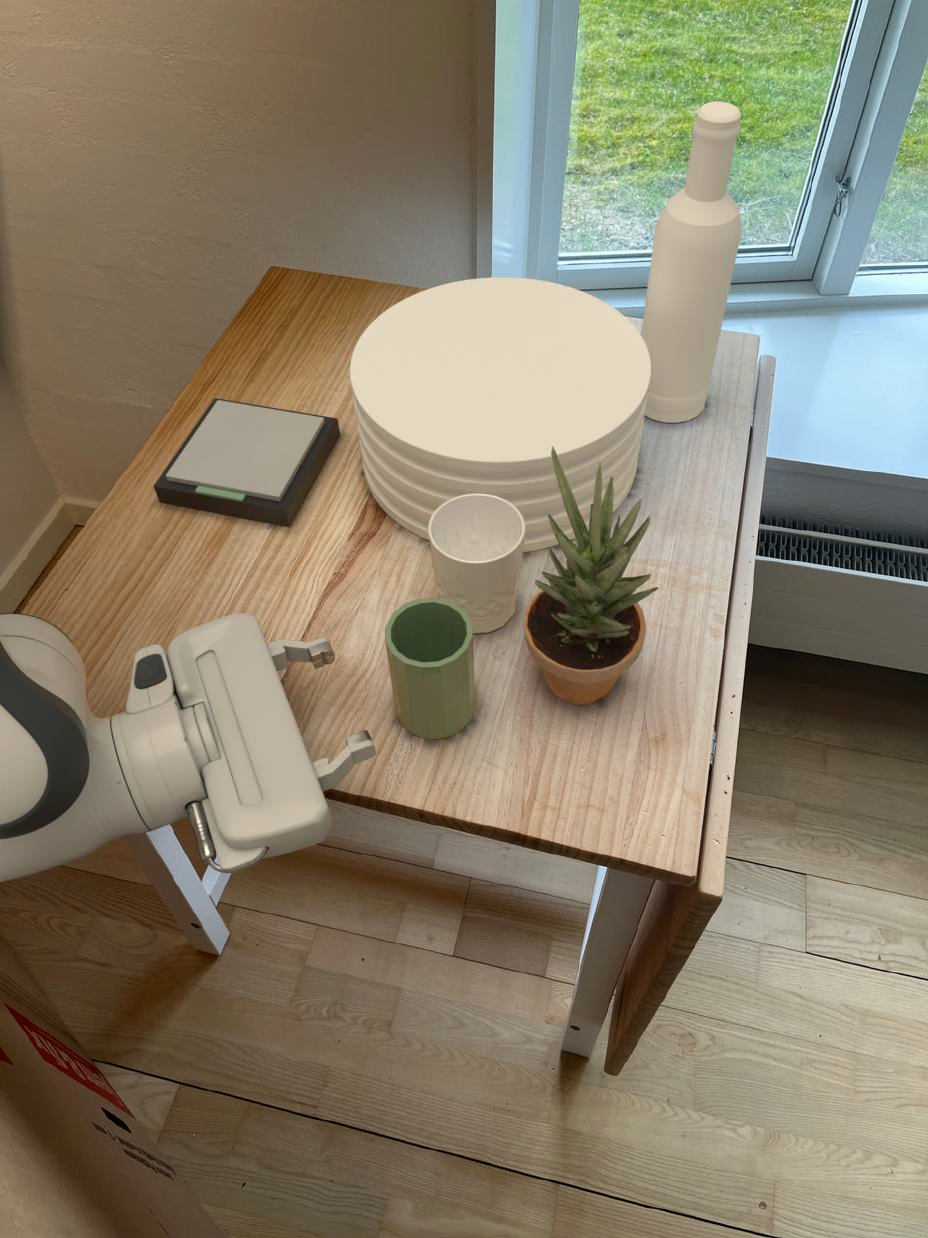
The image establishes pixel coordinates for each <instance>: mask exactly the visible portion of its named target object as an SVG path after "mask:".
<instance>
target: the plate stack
mask: <svg viewBox="0 0 928 1238" xmlns="http://www.w3.org/2000/svg"><path fill="white" fill-rule="evenodd" d="M650 378H651V360H650V355H649V351H648V349H647V346H646V344H645V342H644V340H643V338H642V336H641V332H640V331H639V330H638V329H637V327H636V326H635V325H634V324H633V323H632V322H631V321H630V320H629V319H628V318H627V317H626V316H625V315H624V314H622V313H621V312H620V311H619V310H617V309H616V308H614V307H613V306H612V305H611V304H609V303H606V302H605V301H604V300H601V299H600V298H598V297H596V296H594V295H591V294H590V293H587V292H585V291H582V290H580V289H577V288H574V287H571V286H567V285H564V284H560V283H557V282H551V281H547V280H541V279H536V278H535V279H534V278H527V277H526V278H525V277H524V278H523V277H509V276H508V277H506V276H500V277H499V276H496V277H480V278H471V279H464V280H458V281H454V282H453V281H452V282H448V283H445V284H444V283H443V284H440V285H437V286H434V287H430V288H428V289H425V290H422V291H420V292H416V293H415V294H412V295H410V296H408V297H406V298H404V299H402V300H401V301H399V302H397V303H395V304H394V305H391V307H389V308H387V309H386V310H385V311H384V312H382V313H381V314H380V315H379V316H377V317H376V318H375V319H374V320H373V321H372V322H371V323H370V324H369V325H368V326H367V327H366V329H365V330H364V331H363V332H362V334H361V336H360V337H359V338H358V340H357V342H356V344H355V346H354V349H353V352H352V355H351V359H350V363H349V379H350V385H351V391H352V398H353V405H354V413H355V417H356V426H357V433H358V439H359V447H360V453H361V454H360V455H361V460H362V467H363V468H362V469H363V473H364V478H365V481H366V482H365V483H366V485H367V487H368V489H369V492H370V493H371V495H372V497H373V498H374V500H375V501H376V503H377V504H378V506H379V507H380V508H381V509H382V510H383V511H384V513H386V514H387V515H388V516H389V517H390V518H391V519H392V520H393V521H395V522H396V523H397V524H398V525H400V526H401V527H403V528H404V529H405V530H407V531H409V532H411V533H413V534H414V535H416V536H418V537H420V538H422V539H424V540H427V541H429V542H430V540H429V533H428V525H429V521H430V518H431V516H432V515H433V513H434V512H435V511H436V509H437V508H438V507H440V506H441V505H442V504H443V503H445V502H446V501H448V500H450V499H452V498H455V497H458V496H461V495H466V494H475V493H480V494H489V495H494V496H497V497H500V498H502V499H505V500H506V501H508V502H510V503H511V504H512V505H514V506H515V507H516V508H517V509H518V510H519V512H520V513H521V515H522V517H523V519H524V523H525V535H524V545H523V553H528V552H534V551H540V550H543V549H548V548H547V547H549V546H550V548H552V547H555V546H560V545H559V543H558V541H557V539H556V537H555V535H554V533H553V530H552V527H551V524H550V521H549V518H548V514H550V515H551V517H552V518H553V519H554V521H555V522H556V524H557V525H558V526H559V528H560V529H561V530H562V532H563V533H564V534H565V535H566V536H567V538H568V539H569V540H570V541H572V540H574V539H576V537H575V535H574V532H573V529H572V526H571V523H570V520H569V517H568V515H567V512H566V509H565V507H564V503H563V499H562V496H561V492H560V489H559V485H558V482H557V478H556V474H555V469H554V464H553V460H552V455H551V451H552V446H553V447H554V450H555V451H556V454H557V456H558V459H559V462H560V464H561V467H562V469H563V472H564V474H565V476H566V479H567V481H568V484H569V486H570V489H571V491H572V494H573V496H574V499H575V501H576V504H577V506H578V509H579V512H580V514H581V516H582V518H583V520H584V522H585V524H586V527H587V530H589V518H590V509H591V504H593V499H594V491H595V481H596V475H597V471H598V467H599V463H600V462H601V470H602V493H601V495H602V499H601V506H602V502H603V499H604V496H605V492H606V489H607V486H608V483H609V480H610V477H611V476H613V489H614V498H613V513H615V512H616V511H617V510H618V508H619V507H620V506H621V505H622V504H623V502H624V501H625V499H626V498H627V496H628V494H629V493H630V491H631V489H632V486H633V484H634V481H635V478H636V473H637V468H638V462H639V461H638V460H639V454H640V449H641V441H642V435H643V430H644V429H643V428H644V422H645V411H646V404H647V397H648V390H649V385H650Z"/></svg>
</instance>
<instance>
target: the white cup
mask: <svg viewBox="0 0 928 1238" xmlns="http://www.w3.org/2000/svg"><path fill="white" fill-rule="evenodd" d="M428 533H429V540H430V541H429V540H428V541H429V546H430V554H431V560H432V568H433V574H434V579H435V585H436V590H437V594H438V598H439V599H443V600H447V601H451V602H453V603H454V604H456V605H457V606H459V607H460V608H462V609H463V610H464V611H465V612H466V614H467V615H468V617H469V618H470V620H471V622H472V630H473V634H484V633H485V634H488V633H491V632H494V631H496V630H497V629H500V628H502V627H505V625H506V624H507V623H508V622H509V621H510V620H511V618H512V617H513V616H514V615H515V610H516V605H517V596H518V591H519V590H520V589H519V588H520V581H521V580H520V579H521V572H522V566H523V555H524V552H523V545H524V535H525V523H524V519H523V517H522V515H521V513H520V512H519V510H518V509H517V508H516V507H515V506H514V505H512V504H511V503H510V502H508V501H506V500H505V499H502V498H500V497H497V496H494V495H489V494H480V493H475V494H466V495H461V496H458V497H455V498H452V499H450V500H448V501H446V502H445V503H443V504H442V505H441V506H440V507H438V508H437V509H436V511H435V512H434V513H433V515H432V516H431V518H430V521H429V525H428Z"/></svg>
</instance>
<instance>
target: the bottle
mask: <svg viewBox="0 0 928 1238" xmlns="http://www.w3.org/2000/svg"><path fill="white" fill-rule="evenodd" d="M741 117H742V113H741V111H740V109H739V107H737V106H736V105H734V104H733V103H730V102H726V101H710V102H706V103H704V104H703V105H701V106H700V107H698V108H697V111H696V115H695V119H694V121H693V124H692V128H691V130H692V135H693V136H692V141H691V147H690V152H689V160H688V166H687V173H686V178H685V184H684V188H682V189H681V190H679V191H678V192H676V193H675V194H673V195H672V196H671V197H670V198H668V200H666V202H665V205H664V207H663V209H662V211H661V213H660V215H659V218H658V219H657V222H656V225H655V228H654V237H653V241H652V242H653V243H652V251H651V257H650V264H649V271H648V278H647V279H648V281H647V287H646V294H645V302H644V307H643V315H642V323H641V331H640V335H641V336H642V338H643V340H644V342H645V344H646V346H647V349H648V351H649V355H650V360H651V378H650V385H649V390H648V397H647V404H646V411H645V415H644V417H647V418H649V419H650V420H654V421H657V422H661V423H667V424H668V423H669V424H670V423H671V424H677V423H683V422H688V421H690V420H692V419H695V418H697V417H699V415H700V414H701V413H702V412H703V411H704V409H705V405H706V402H707V399H708V396H709V392H710V388H711V383H712V373H713V369H714V365H715V360H716V354H717V351H718V350H717V349H718V345H719V342H720V341H719V340H720V336H721V331H722V327H723V326H722V325H723V321H724V318H725V312H726V308H727V303H728V299H729V298H728V297H729V293H730V288H731V285H732V284H731V283H732V280H733V275H734V272H735V271H734V270H735V266H736V260H737V256H738V251H739V246H740V243H741V237H742V233H743V229H742V228H743V227H742V219H741V213H740V208H739V206H738V204H737V202H736V201H735V200H734V199H733V197H732V196H731V195H730V194H729V193H728V192H727V190H728V189H727V188H728V183H729V179H730V173H731V168H732V163H733V158H734V153H735V149H736V142H737V139H738V137H739V135H740V131H741V123H740V121H741Z"/></svg>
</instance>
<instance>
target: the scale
mask: <svg viewBox="0 0 928 1238" xmlns="http://www.w3.org/2000/svg"><path fill="white" fill-rule="evenodd" d="M340 436H341V431H340V424H339V420H338V418H337V417H332V416H325V415H320V414H313V413H307V412H301V411H296V410H290V409H283V408H278V407H272V406H265V405H259V404H254V403H248V402H242V401H235V400H231V399H230V400H229V399H224V398H218V397H214V398H213V400H212V401H211V402H210V404H209V405H208V407H207V408H206V410H205V411H204V413H203V414H202V416H201V417H200V418H199V420H198V421H197V422H196V424H195V425H194V427H193V428H192V430H191V431H190V433H189V434H188V435H187V436H186V438H185V440H184V441H183V443H182V444H181V446H180V447H179V448H178V450H177V451H176V453H175V454H174V455H173V457H172V459H171V460H170V461H169V463H168V464H167V466H166V467H165V468H164V470H163V472H162V473H161V474H160V476H159V477H158V479H157V480H156V482H155V483H154V484H153V489H154V491H155V494H156V496H157V499H158V502H159V503H161V504H162V503H163V504H168V505H173V506H177V507H184V508H188V509H193V510H199V511H204V512H208V513H209V512H210V513H214V514H218V515H219V514H221V515H225V516H230V517H235V518H236V517H237V518H241V519H246V520H251V521H256V522H260V523H261V522H262V523H267V524H271V525H277V526H283V527H288V528H290V527H291V526H292V524H293V522H294V520H295V518H296V516H297V515H298V512H299V511H300V510H301V507H302V505H303V504H304V502H305V500H306V498H307V496H308V495H309V493H310V491H311V489H312V487H313V485H314V483H315V482H316V480H317V478H318V476H319V474H320V472H321V471H322V469H323V467H324V465H325V463H326V462H327V460H328V458H329V456H330V454H331V452H332V451H333V448H334V447H335V445H336V443H337V442H338V439H339V438H340Z"/></svg>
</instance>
